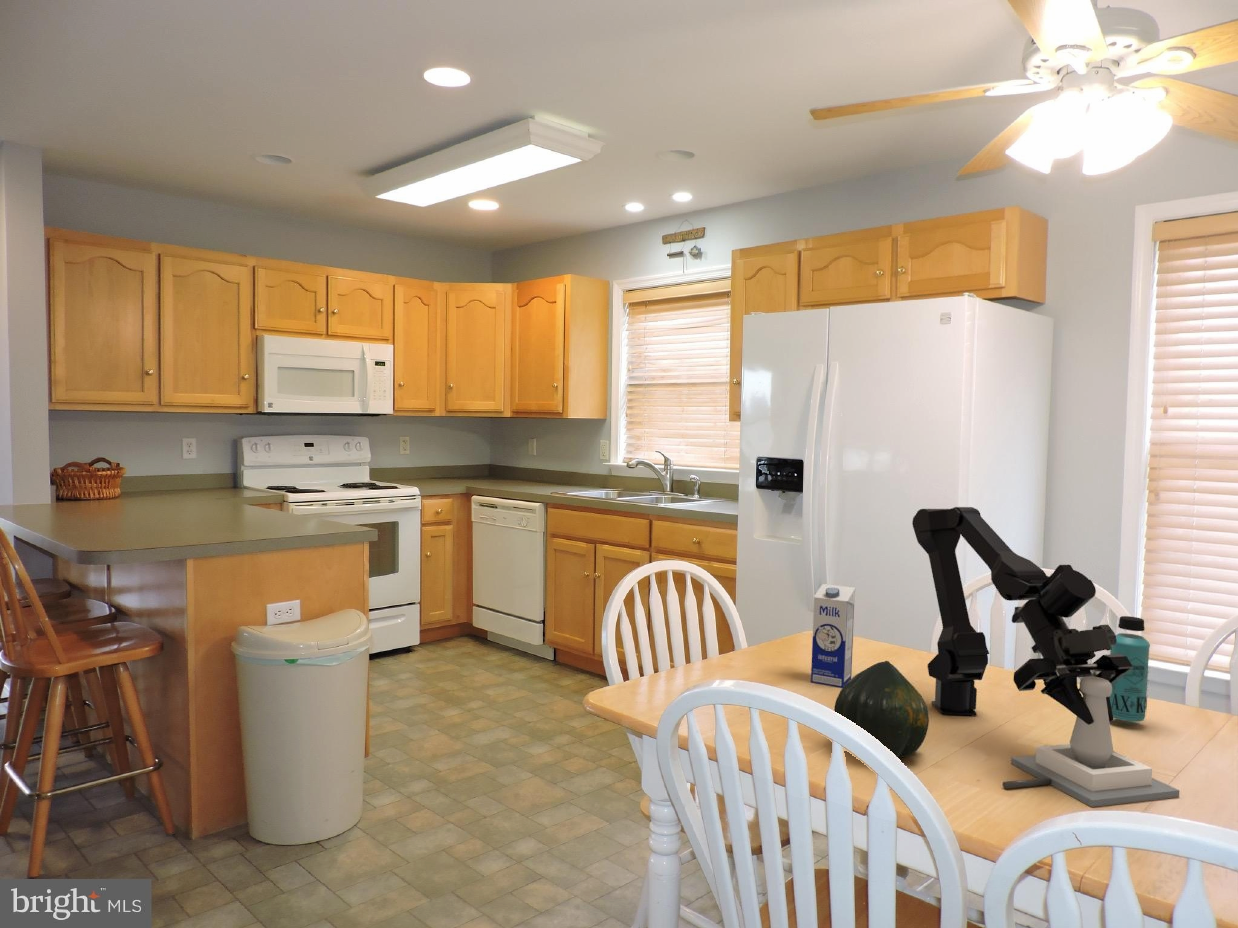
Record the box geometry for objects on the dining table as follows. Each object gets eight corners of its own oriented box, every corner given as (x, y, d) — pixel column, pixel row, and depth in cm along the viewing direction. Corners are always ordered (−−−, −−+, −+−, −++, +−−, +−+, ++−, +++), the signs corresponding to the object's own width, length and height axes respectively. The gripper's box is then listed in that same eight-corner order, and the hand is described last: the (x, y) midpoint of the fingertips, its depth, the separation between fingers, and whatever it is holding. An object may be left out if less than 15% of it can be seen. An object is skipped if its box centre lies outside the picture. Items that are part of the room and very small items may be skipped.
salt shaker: (1106, 772, 126) (1112, 686, 126) (1064, 760, 130) (1070, 677, 130) (1115, 761, 131) (1122, 679, 130) (1075, 751, 134) (1080, 670, 134)
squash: (862, 739, 129) (914, 661, 133) (804, 712, 143) (852, 641, 147) (915, 791, 134) (964, 713, 138) (853, 759, 147) (899, 690, 151)
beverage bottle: (1096, 717, 160) (1102, 612, 159) (1130, 717, 160) (1136, 613, 159) (1120, 730, 153) (1126, 620, 152) (1154, 730, 154) (1161, 621, 153)
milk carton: (852, 680, 179) (856, 586, 179) (843, 688, 174) (847, 591, 173) (819, 674, 183) (822, 582, 182) (809, 682, 177) (813, 587, 176)
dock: (1045, 812, 118) (1046, 787, 118) (968, 767, 134) (969, 745, 133) (1179, 796, 125) (1180, 773, 125) (1091, 755, 140) (1092, 734, 140)
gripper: (1031, 608, 130) (1083, 701, 120) (1127, 604, 136) (1185, 694, 126) (992, 644, 138) (1039, 735, 128) (1084, 640, 144) (1136, 727, 134)
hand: (1101, 722), depth 129 cm, fingers closed on salt shaker, 3 cm apart
